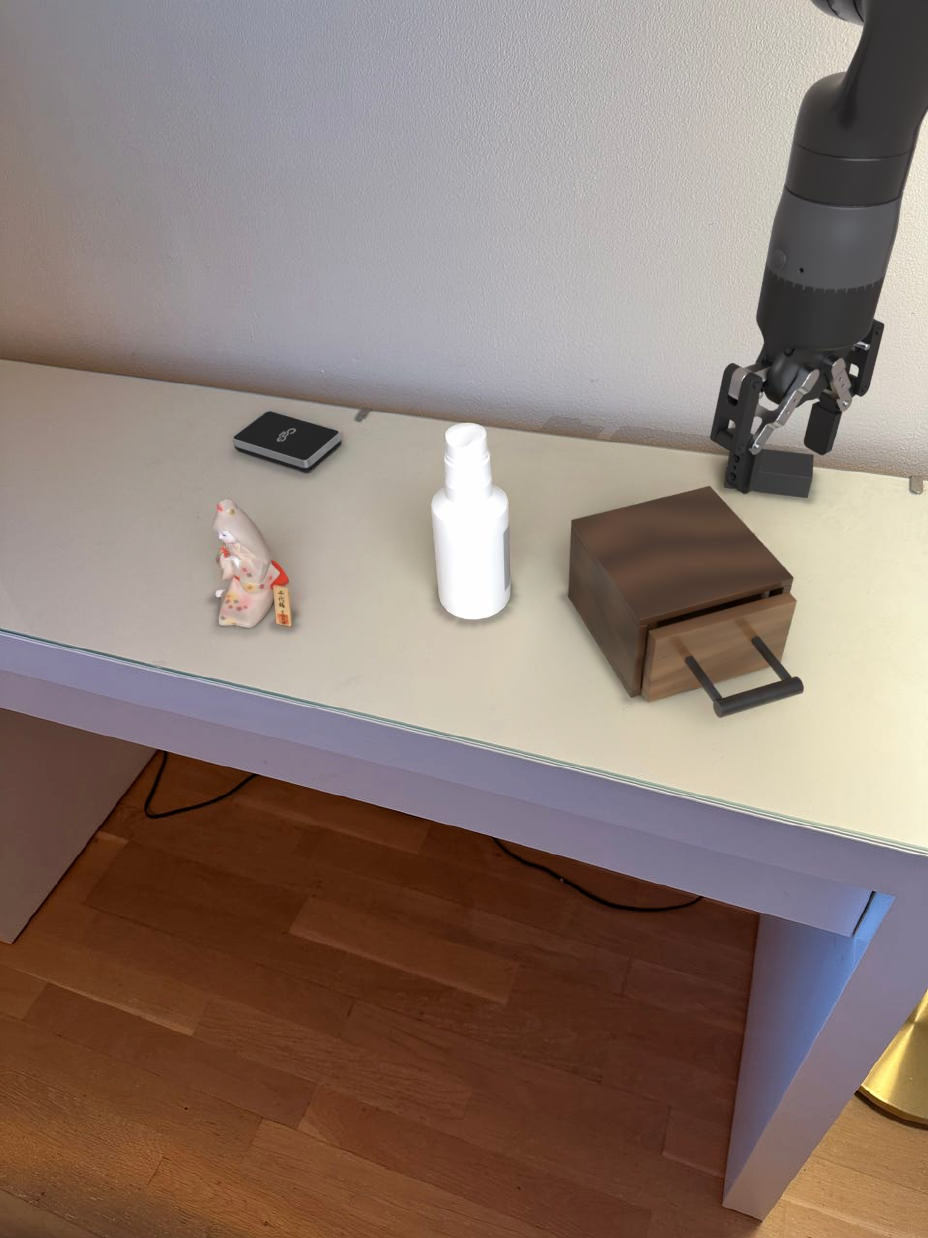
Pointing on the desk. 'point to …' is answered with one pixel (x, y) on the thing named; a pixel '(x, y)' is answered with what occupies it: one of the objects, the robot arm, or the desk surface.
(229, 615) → the figurine
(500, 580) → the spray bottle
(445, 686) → the desk surface
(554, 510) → the desk surface
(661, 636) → the drawer
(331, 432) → the external hard drive
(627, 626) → the cabinet
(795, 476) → the remote
